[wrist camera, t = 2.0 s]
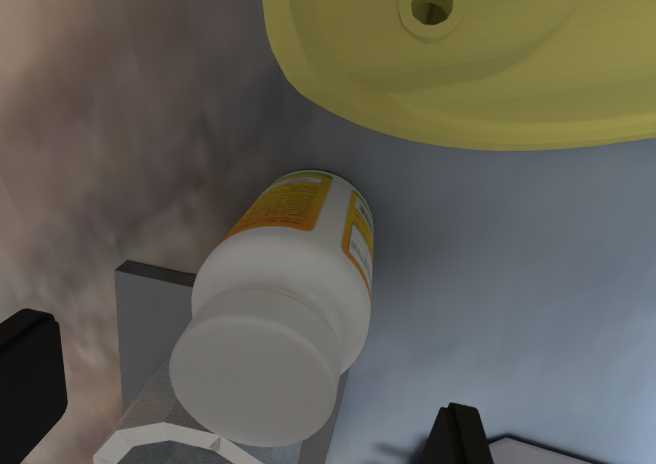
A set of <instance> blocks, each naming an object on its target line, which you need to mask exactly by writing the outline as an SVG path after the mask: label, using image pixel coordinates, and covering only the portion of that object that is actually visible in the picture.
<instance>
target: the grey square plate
mask: <svg viewBox="0 0 656 464" xmlns="http://www.w3.org/2000/svg"><path fill="white" fill-rule="evenodd" d="M114 271H115V287H116V304H117V320H118V336H119V352H120V369H121V385H122V401H123V416H122V417H121V418H120V420H119V421H118V423H117V424H116V425H115V427H114V428H113V430H112V431H111V432H110V434H109V435H108V436H107V438H106V439H105V441H104V442H103V443H102V445H101V446H100V448H99V449H98V450H97V452H96V453H95V455H94V456H93V460H94V464H324V463H325V459H326V455H327V451H328V447H329V443H330V439H331V436H332V432H333V428H334V424H335V420H336V416H337V412H338V408H339V405H340V401H341V397H342V393H343V389H344V385H345V381H346V378H347V374H348V370H349V368H348V369H347V370H346V371H345V372H343V373H342V374H341V375H340V378H339V384H338V390H337V396H336V401H335V405H334V408H333V411H332V413H331V415H330V417H329V418H328V420H327V421H326V423H325V424H324V425H323V427H322V428H321V429H319V430H318V431H317V432H316V433H315V434H313V435H312V436H310V437H309V438H307V439H305V440H302V441H300V442H297V443H294V444H290V445H286V446H278V447H259V446H251V445H246V444H242V443H237V442H234V441H232V440H229V439H226V438H224V437H222V436H219V435H217V434H215V433H214V432H212V431H210V430H208V429H207V428H205V427H204V426H203V425H201V424H200V423H199V422H197V421H196V420H195V419H194V418H193V417H192V416H191V415H190V414H189V413H188V412H187V411H186V409H185V408H184V407H183V406H182V405H181V403H180V402H179V400H178V398H177V396H176V394H175V393H174V390H173V388H172V385H171V380H170V375H169V363H170V358H171V354H172V351H173V349H174V346H175V345H176V343H177V341H178V339H179V338H180V336H181V335H182V333H183V332H184V330H185V329H186V327H187V326H188V324H189V323H190V321H191V320H192V305H191V299H192V290H193V285H194V282H195V279H196V277H197V276H195V275H190V274H185V273H181V272H176V271H172V270H167V269H163V268H158V267H154V266H149V265H144V264H140V263H135V262H131V261H125V262H124V263H123V264H122V265H120V266H119V267H118V268H117V269H115V270H114Z"/></svg>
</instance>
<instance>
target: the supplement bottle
mask: <svg viewBox="0 0 656 464" xmlns="http://www.w3.org/2000/svg"><path fill="white" fill-rule="evenodd" d="M373 248H374V226H373V218H372V214H371V211H370V209H369V206H368V204H367V203H366V201H365V199H364V198H363V196H362V195H361V194H360V192H359V191H358V190H357V189H356V188H355V187H354V186H353V185H351V184H350V183H349V182H347V181H346V180H344V179H343V178H341V177H339V176H337V175H334V174H331V173H328V172H324V171H317V170H303V171H297V172H293V173H290V174H287V175H285V176H283V177H281V178H279V179H278V180H276V181H275V182H273V183H272V184H271V185H270V186H269V187H268V188H267V189H266V190H265V191H264V192H263V193H262V194H261V195H260V196H259V198H258V199H257V200H256V201H255V202H254V203H253V205H252V206H251V207H250V208H249V209H248V211H247V212H246V213H245V214H244V215H243V216H242V217H241V219H240V220H239V221H238V222H237V223H236V224H235V225H234V227H233V228H232V229H231V230H230V231H229V232H228V234H227V235H226V236H225V237H224V238H223V239H222V240H221V242H220V243H219V244H218V245H217V246H216V247H215V248H214V250H213V251H212V252H211V253H210V255H209V256H208V257H207V259H206V261H205V262H204V263H203V265H202V267H201V268H200V270H199V272H198V274H197V277H196V279H195V282H194V285H193V290H192V299H191V305H192V320H191V321H190V323H189V324H188V326H187V327H186V329H185V330H184V332H183V333H182V335H181V336H180V338H179V339H178V341H177V343H176V345H175V346H174V349H173V351H172V354H171V358H170V363H169V375H170V380H171V385H172V388H173V390H174V393H175V394H176V396H177V398H178V400H179V402H180V403H181V405H182V406H183V407H184V408H185V409H186V411H187V412H188V413H189V414H190V415H191V416H192V417H193V418H194V419H195V420H196V421H197V422H199V423H200V424H201V425H203V426H204V427H205V428H207V429H208V430H210V431H212V432H214V433H215V434H217V435H219V436H222V437H224V438H226V439H229V440H232V441H234V442H237V443H242V444H246V445H251V446H259V447H278V446H286V445H290V444H294V443H297V442H300V441H302V440H305V439H307V438H309V437H310V436H312V435H313V434H315V433H316V432H317V431H318V430H319V429H321V428H322V427H323V425H324V424H325V423H326V421H327V420H328V418H329V417H330V415H331V413H332V411H333V408H334V405H335V401H336V396H337V390H338V384H339V378H340V375H341V374H342V373H343V372H345V371H346V370H347V369H348V368H349V367H350V366H351V365H352V364H353V362H354V361H355V360H356V359H357V357H358V355H359V354H360V352H361V350H362V348H363V346H364V344H365V341H366V338H367V334H368V330H369V324H370V316H371V295H372V271H373Z"/></svg>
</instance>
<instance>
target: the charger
mask: <svg viewBox="0 0 656 464" xmlns="http://www.w3.org/2000/svg"><path fill="white" fill-rule="evenodd" d="M488 445H489V448H490V452H491V455H492V458H493V462H494V464H592V463H589V462H585V461H582V460H579V459H575V458H572V457H569V456H566V455H562V454H559V453H556V452H552V451H549V450H546V449H542V448H539V447H536V446H532V445H529V444H526V443H523V442H519V441H516V440H513V439H509V438H503V439H500V440H498V441H496V442H493V443H491V444H488Z"/></svg>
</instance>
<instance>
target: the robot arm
mask: <svg viewBox="0 0 656 464" xmlns="http://www.w3.org/2000/svg"><path fill="white" fill-rule="evenodd" d="M67 404H68V400H67V391H66V382H65V373H64V364H63V355H62V346H61V336H60V327H59V323H58V322H57V321H55V319H54V316H53V315H52V314H50V313H46V312H42V311H37V310H33V309H28V308H26V309H22V310H20V311H18V312H17V313H15V314H14V315H12V316H11V317H9V318H8V319H6V320H5V321H3V322H2V323H0V464H20V463H21V462H22V461H23V460H24V459H25V457H26V456H27V455H28V454H29V453H30V452H31V451H32V450H33V449H34V447H35V446H36V445H37V444H38V443H39V442H40V441H41V440H42V439H43V437H44V436H45V435H46V434H47V433H48V432H49V431H50V430H51V429H52V427H53V426H54V425H55V424H56V423H57V422H58V421H59V420H60V419H61V417H62V416H63V414H64V413H65V410H66V408H67ZM418 464H494V462H493V458H492V455H491V452H490V448H489V445H488V442H487V438H486V435H485V432H484V428H483V425H482V422H481V418H480V415H479V412H478V410H477V409H476V408H475V407H470V406H466V405H461V404H457V403H450V404H449V405H448V407H447V408H445V407H441V408H440V410H439V412H438V415H437V417H436V420H435V422H434V425H433V427H432V430H431V433H430V435H429V438H428V440H427V443H426V445H425V448H424V450H423V453H422V456H421V458H420V461H419V463H418Z"/></svg>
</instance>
